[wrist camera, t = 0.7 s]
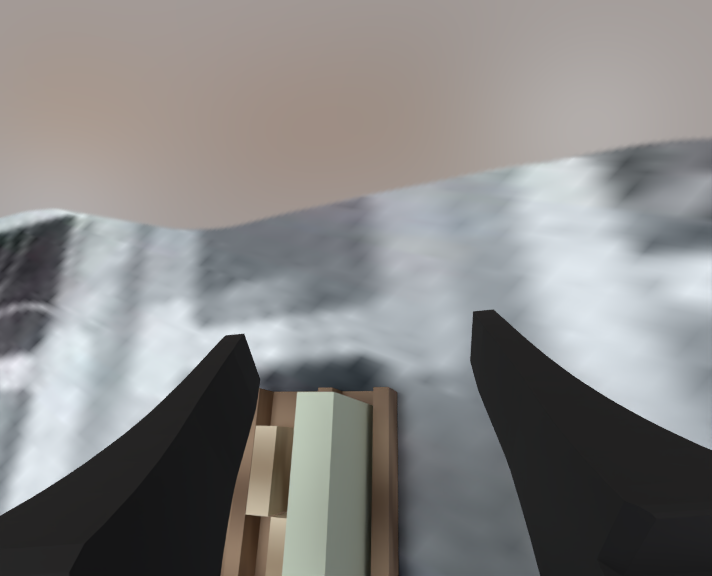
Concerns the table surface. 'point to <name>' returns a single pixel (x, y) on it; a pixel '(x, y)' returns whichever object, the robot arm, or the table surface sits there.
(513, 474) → the robot arm
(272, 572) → the offcut
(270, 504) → the offcut
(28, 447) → the table surface
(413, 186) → the table surface
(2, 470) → the table surface
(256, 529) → the rack
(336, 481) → the pale green slab
